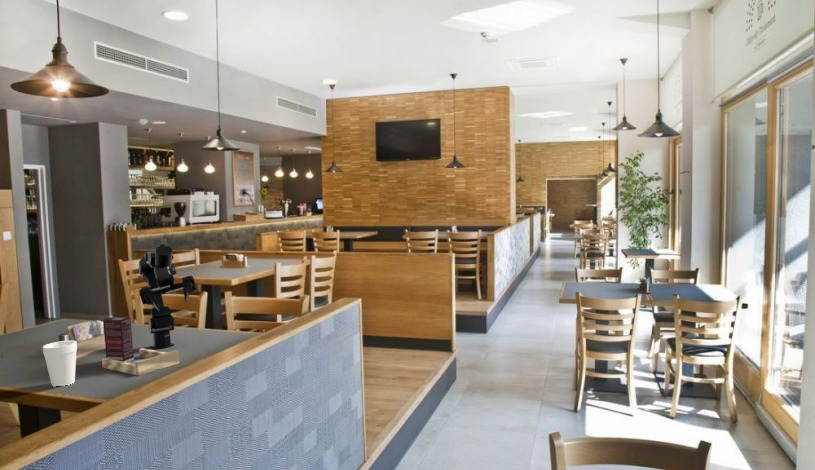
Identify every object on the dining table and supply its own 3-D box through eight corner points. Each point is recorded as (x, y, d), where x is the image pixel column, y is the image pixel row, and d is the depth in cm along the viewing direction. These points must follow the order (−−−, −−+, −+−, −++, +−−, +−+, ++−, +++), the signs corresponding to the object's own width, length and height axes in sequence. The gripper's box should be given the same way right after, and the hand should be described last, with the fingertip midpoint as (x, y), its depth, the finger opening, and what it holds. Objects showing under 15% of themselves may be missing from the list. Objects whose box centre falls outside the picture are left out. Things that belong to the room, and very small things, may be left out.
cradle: (102, 367, 202) (101, 355, 201) (143, 356, 215) (142, 344, 214) (138, 375, 190) (137, 362, 190) (179, 362, 203) (178, 350, 203)
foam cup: (56, 380, 189) (52, 341, 188) (85, 378, 190) (82, 339, 189) (40, 389, 180) (36, 349, 179) (71, 387, 181) (67, 347, 180)
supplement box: (134, 359, 210) (131, 317, 209) (124, 363, 206) (120, 320, 205) (116, 358, 213) (112, 316, 212) (105, 362, 208) (102, 319, 207)
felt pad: (116, 366, 202) (116, 366, 202) (142, 359, 210) (142, 358, 210) (140, 371, 194) (140, 371, 194) (166, 363, 203) (166, 363, 203)
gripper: (132, 268, 204) (139, 298, 194) (186, 253, 211) (196, 282, 201) (139, 289, 211) (146, 319, 201) (191, 275, 219) (201, 303, 209)
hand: (172, 305), depth 203 cm, fingers open, 9 cm apart
